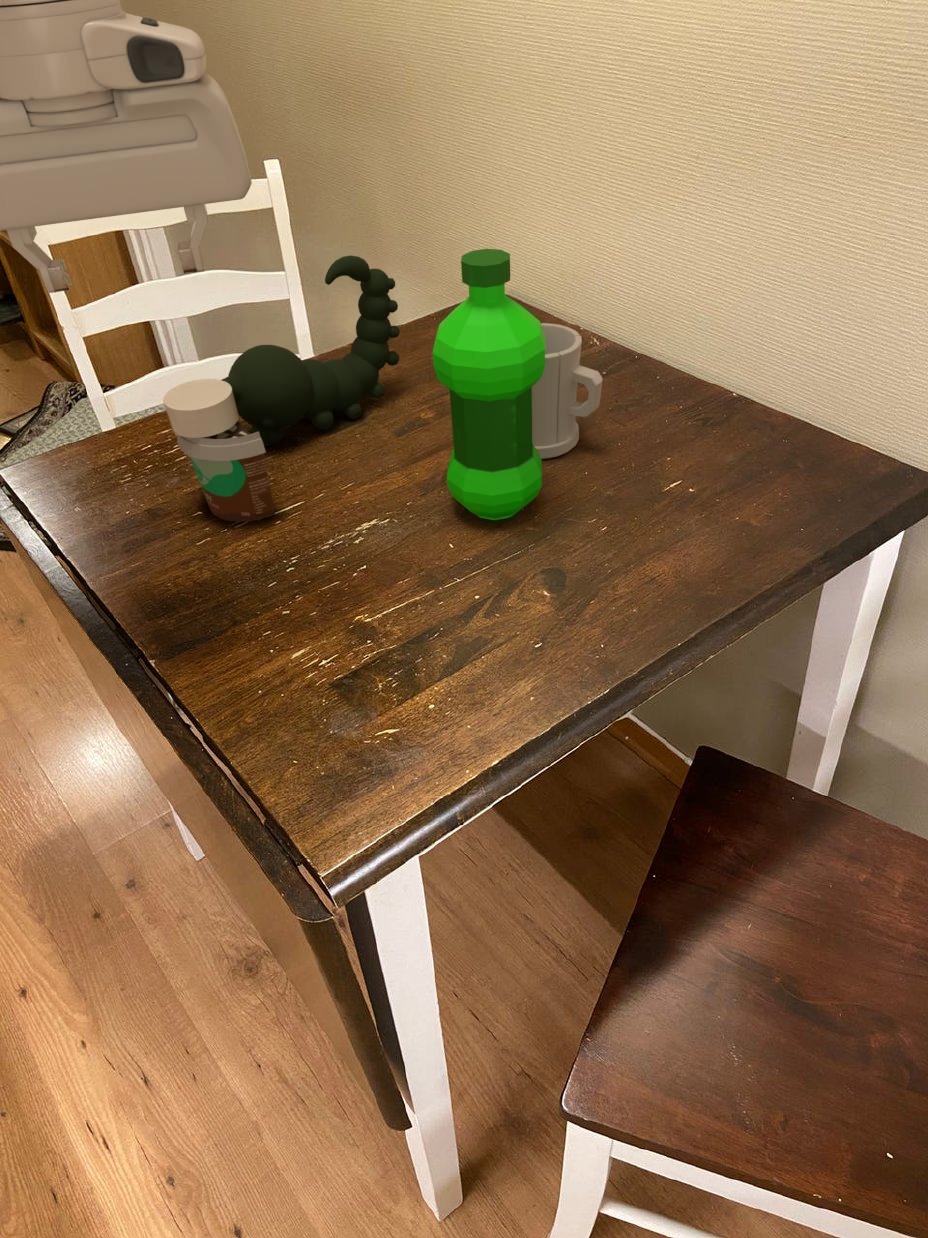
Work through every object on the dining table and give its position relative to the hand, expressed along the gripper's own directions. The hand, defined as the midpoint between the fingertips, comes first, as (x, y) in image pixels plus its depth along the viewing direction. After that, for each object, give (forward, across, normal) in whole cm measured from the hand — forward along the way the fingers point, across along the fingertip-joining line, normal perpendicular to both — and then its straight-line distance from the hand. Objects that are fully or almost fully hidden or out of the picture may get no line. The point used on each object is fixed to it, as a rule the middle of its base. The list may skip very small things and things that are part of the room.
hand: (128, 279), depth 64 cm
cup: (+29, +37, +17) cm, 50 cm away
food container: (+29, +1, +15) cm, 33 cm away
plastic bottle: (+29, +28, +6) cm, 41 cm away
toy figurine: (+29, +12, +30) cm, 44 cm away
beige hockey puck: (+19, +1, +15) cm, 24 cm away
